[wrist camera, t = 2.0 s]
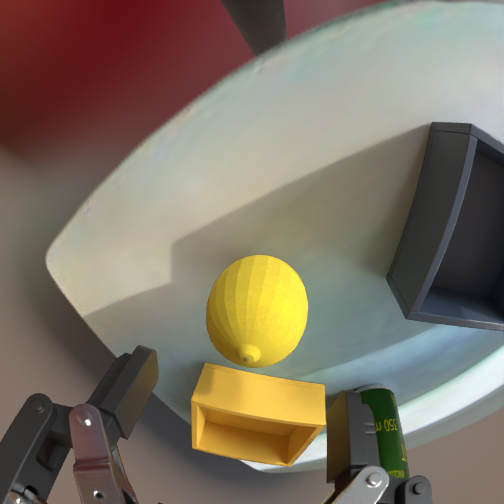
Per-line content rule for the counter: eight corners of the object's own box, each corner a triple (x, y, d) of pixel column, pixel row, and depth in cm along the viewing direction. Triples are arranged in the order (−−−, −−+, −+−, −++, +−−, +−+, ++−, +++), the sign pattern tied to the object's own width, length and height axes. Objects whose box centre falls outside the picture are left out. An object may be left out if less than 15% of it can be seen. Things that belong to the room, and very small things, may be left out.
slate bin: (431, 121, 13) (471, 123, 9) (530, 179, 12) (566, 195, 8) (385, 279, 18) (405, 319, 14) (485, 300, 17) (510, 332, 13)
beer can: (344, 415, 25) (347, 513, 14) (340, 388, 23) (345, 504, 12) (392, 404, 24) (406, 500, 13) (394, 376, 22) (416, 488, 11)
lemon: (308, 236, 17) (315, 314, 10) (303, 308, 20) (302, 398, 12) (222, 234, 18) (176, 305, 11) (227, 304, 20) (196, 388, 13)
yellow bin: (205, 361, 24) (190, 400, 20) (324, 384, 23) (326, 424, 19) (202, 417, 29) (192, 448, 24) (293, 435, 28) (290, 466, 24)
